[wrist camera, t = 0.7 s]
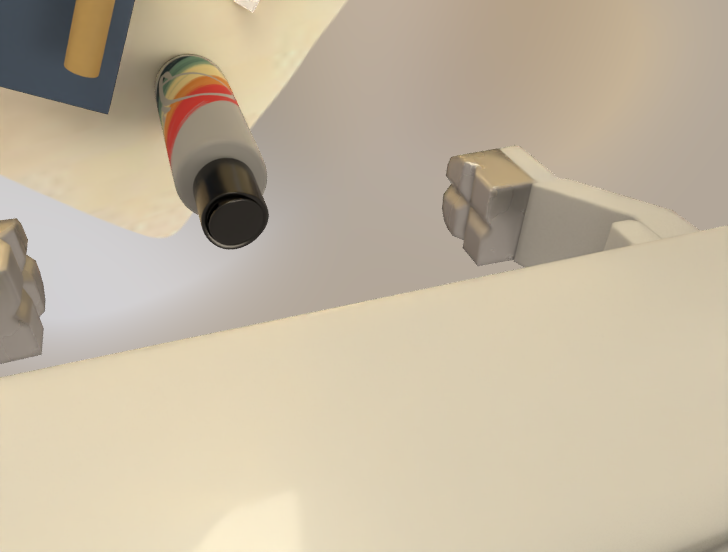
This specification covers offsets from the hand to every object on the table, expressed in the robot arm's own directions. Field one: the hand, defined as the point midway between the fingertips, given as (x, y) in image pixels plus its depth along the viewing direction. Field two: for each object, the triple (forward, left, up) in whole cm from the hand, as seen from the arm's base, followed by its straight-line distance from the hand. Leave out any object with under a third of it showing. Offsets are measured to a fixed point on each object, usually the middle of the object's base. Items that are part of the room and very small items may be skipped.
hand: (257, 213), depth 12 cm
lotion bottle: (+11, +7, -39) cm, 41 cm away
